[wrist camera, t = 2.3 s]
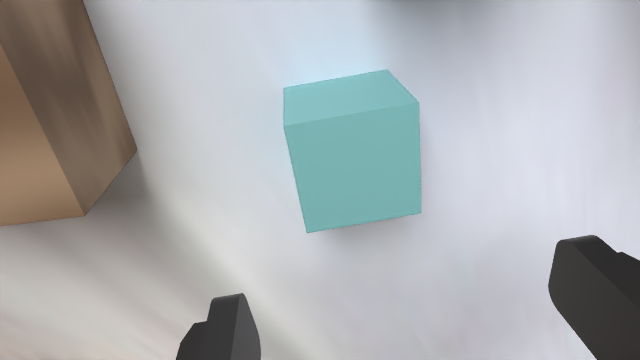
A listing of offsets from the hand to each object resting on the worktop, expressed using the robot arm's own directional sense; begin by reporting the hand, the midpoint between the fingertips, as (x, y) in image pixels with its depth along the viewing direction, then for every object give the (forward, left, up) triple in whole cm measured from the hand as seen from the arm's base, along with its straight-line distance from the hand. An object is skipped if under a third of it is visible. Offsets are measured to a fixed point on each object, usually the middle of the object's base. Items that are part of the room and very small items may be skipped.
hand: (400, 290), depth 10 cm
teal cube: (0, 0, -11) cm, 11 cm away
